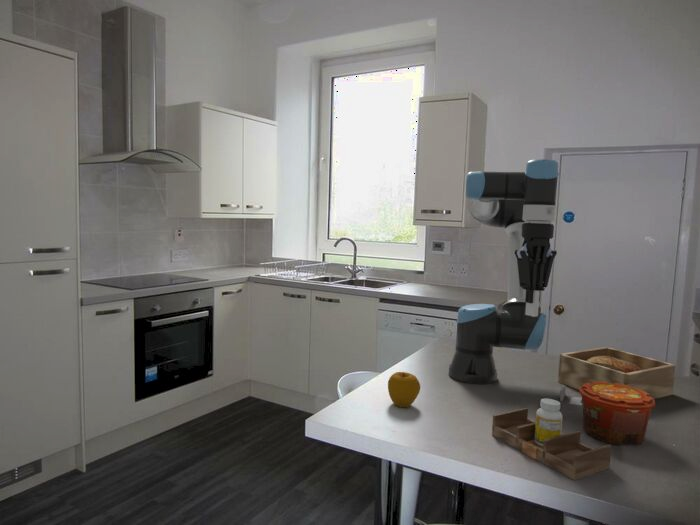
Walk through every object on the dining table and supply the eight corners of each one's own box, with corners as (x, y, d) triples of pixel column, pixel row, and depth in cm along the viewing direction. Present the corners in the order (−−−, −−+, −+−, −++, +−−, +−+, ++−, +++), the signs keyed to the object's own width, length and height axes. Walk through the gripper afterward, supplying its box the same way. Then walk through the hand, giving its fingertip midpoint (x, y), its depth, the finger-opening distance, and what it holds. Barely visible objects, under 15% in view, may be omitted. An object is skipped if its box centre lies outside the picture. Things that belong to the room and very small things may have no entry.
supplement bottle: (554, 452, 104) (558, 408, 104) (530, 443, 108) (533, 401, 107) (563, 444, 108) (567, 402, 108) (539, 436, 112) (542, 395, 111)
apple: (422, 402, 134) (424, 371, 133) (413, 413, 126) (415, 380, 125) (393, 396, 138) (394, 366, 137) (382, 407, 130) (383, 374, 129)
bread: (567, 383, 154) (569, 352, 153) (590, 373, 166) (593, 344, 165) (639, 403, 139) (642, 368, 138) (659, 390, 151) (662, 358, 150)
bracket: (598, 411, 134) (599, 398, 133) (559, 402, 139) (560, 390, 139) (601, 404, 139) (602, 392, 139) (563, 396, 144) (564, 384, 144)
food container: (616, 419, 128) (620, 378, 127) (668, 447, 112) (672, 402, 111) (562, 422, 124) (565, 381, 123) (608, 452, 109) (612, 405, 108)
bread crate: (556, 381, 156) (558, 354, 155) (604, 372, 168) (606, 346, 167) (625, 406, 137) (627, 375, 136) (673, 394, 149) (676, 365, 148)
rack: (491, 435, 115) (492, 415, 115) (524, 426, 120) (526, 407, 120) (573, 480, 96) (575, 456, 95) (609, 468, 101) (611, 445, 101)
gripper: (532, 222, 117) (525, 320, 119) (568, 223, 123) (561, 316, 125) (507, 221, 123) (501, 314, 125) (543, 222, 129) (537, 311, 132)
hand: (531, 315), depth 125 cm, fingers closed
